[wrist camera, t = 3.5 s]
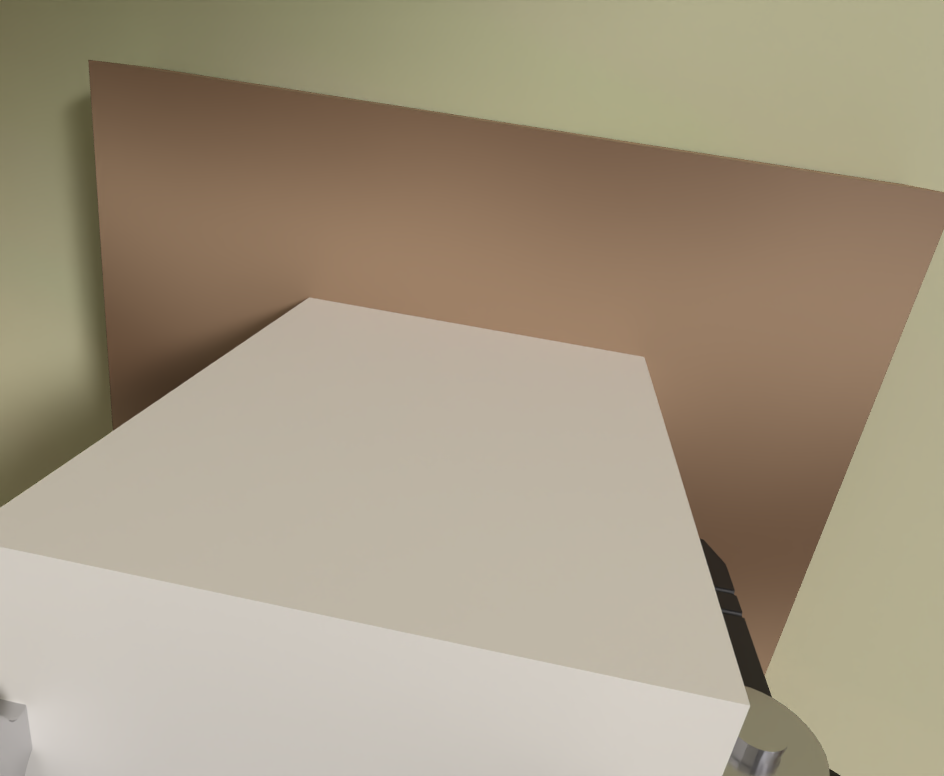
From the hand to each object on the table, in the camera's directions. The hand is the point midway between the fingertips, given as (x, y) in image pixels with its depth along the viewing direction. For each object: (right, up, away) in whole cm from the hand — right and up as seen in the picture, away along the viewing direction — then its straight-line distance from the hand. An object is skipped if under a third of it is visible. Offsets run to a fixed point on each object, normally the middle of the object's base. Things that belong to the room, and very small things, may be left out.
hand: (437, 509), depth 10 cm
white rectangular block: (0, 0, +1) cm, 1 cm away
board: (0, -5, +5) cm, 7 cm away
